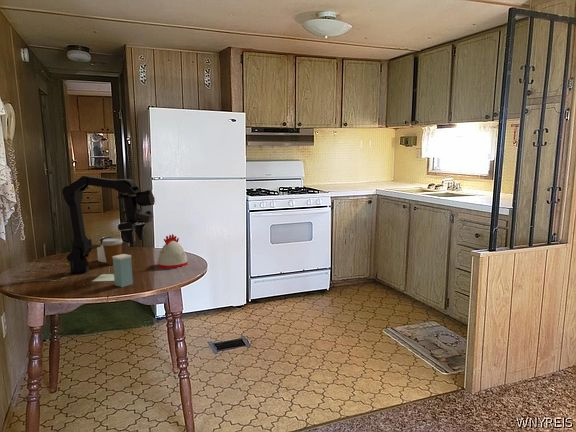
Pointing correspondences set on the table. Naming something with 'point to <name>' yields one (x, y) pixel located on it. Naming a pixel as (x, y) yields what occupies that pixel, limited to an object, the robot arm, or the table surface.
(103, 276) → the plate
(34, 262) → the table surface
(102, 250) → the medicine bottle
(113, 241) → the disposable coffee cup
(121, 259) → the tea tin
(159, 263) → the kitchen timer
